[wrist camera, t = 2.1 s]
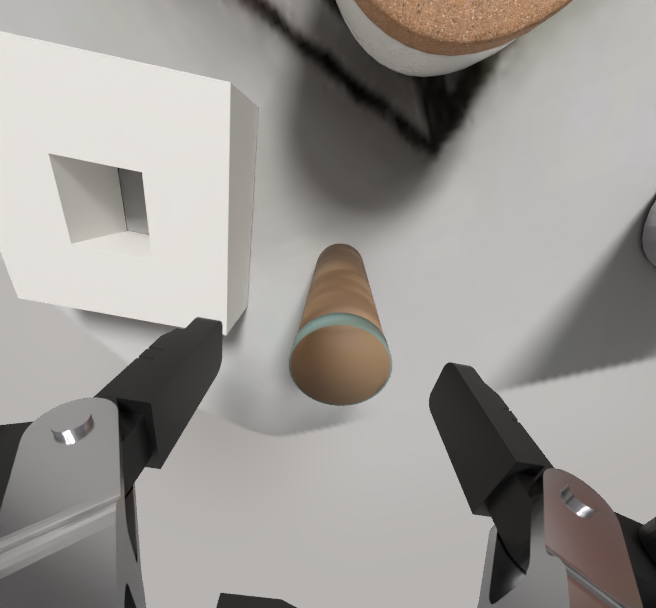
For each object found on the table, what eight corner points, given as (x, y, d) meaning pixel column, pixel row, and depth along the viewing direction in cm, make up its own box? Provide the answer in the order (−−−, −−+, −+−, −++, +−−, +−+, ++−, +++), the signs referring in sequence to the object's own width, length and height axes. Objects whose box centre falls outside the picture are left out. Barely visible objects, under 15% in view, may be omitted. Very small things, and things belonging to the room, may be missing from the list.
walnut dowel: (369, 248, 19) (405, 334, 9) (357, 292, 21) (376, 412, 10) (320, 238, 19) (296, 314, 8) (312, 284, 21) (283, 396, 10)
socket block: (258, 107, 16) (230, 82, 12) (247, 306, 22) (226, 335, 18) (23, 55, 15) (-91, 10, 11) (79, 275, 21) (18, 298, 17)
